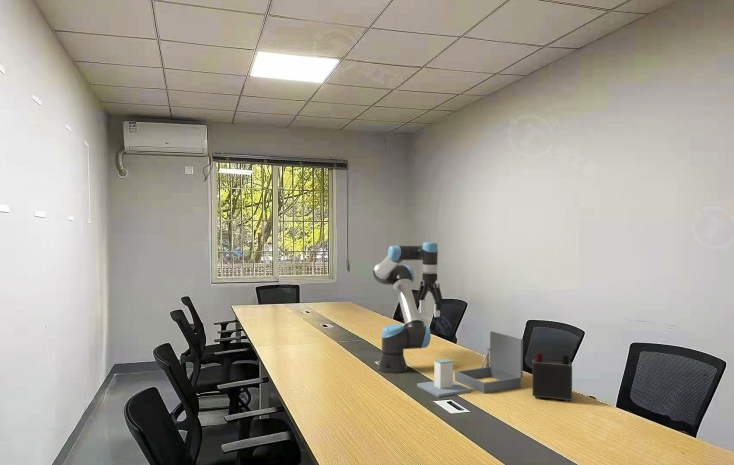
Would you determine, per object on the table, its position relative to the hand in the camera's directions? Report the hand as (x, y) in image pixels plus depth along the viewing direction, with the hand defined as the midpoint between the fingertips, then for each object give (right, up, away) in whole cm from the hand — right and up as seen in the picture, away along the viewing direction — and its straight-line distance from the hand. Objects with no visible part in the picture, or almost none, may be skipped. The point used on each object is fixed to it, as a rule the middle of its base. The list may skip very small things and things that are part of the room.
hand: (429, 314), depth 250 cm
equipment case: (+26, -32, -11) cm, 43 cm away
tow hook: (+32, -32, +11) cm, 47 cm away
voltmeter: (+51, -32, -28) cm, 67 cm away
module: (+4, -30, -20) cm, 36 cm away
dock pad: (+4, -31, -20) cm, 37 cm away
